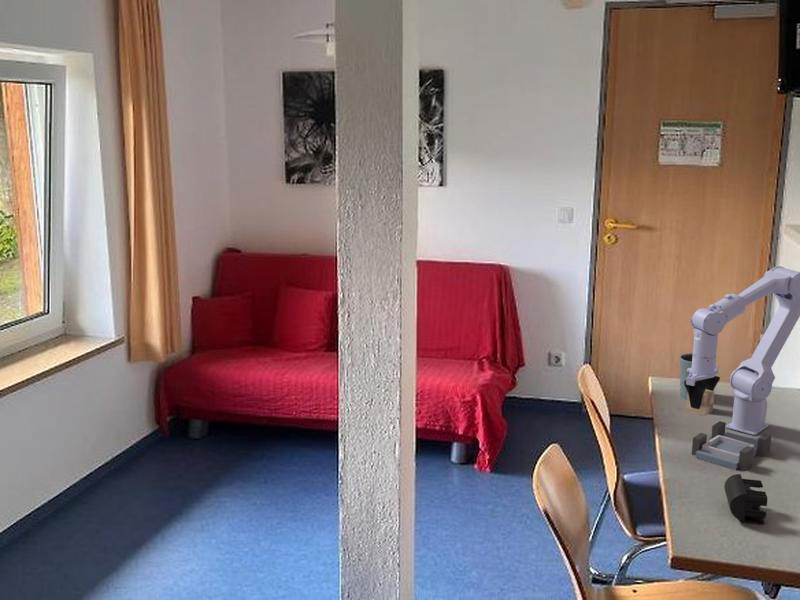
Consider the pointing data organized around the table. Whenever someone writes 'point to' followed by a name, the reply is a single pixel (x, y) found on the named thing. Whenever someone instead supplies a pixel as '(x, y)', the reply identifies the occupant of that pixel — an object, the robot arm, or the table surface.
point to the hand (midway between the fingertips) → (700, 405)
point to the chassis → (729, 447)
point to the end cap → (745, 499)
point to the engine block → (702, 404)
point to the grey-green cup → (684, 372)
